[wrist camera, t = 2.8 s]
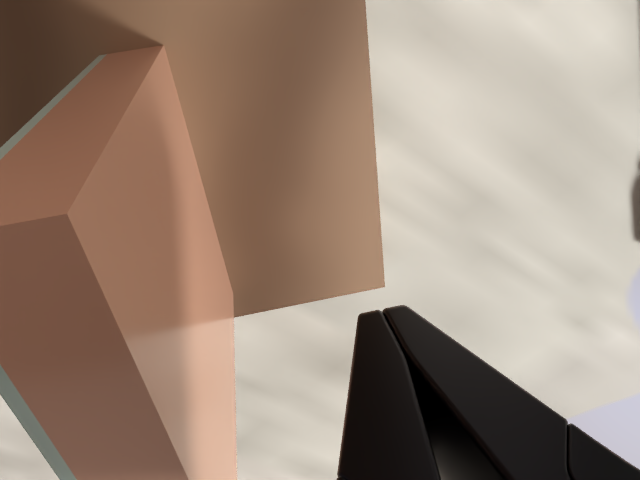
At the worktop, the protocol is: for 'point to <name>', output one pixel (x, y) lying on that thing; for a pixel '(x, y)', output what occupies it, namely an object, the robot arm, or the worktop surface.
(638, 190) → the worktop surface
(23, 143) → the tile
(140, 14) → the board
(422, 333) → the robot arm
